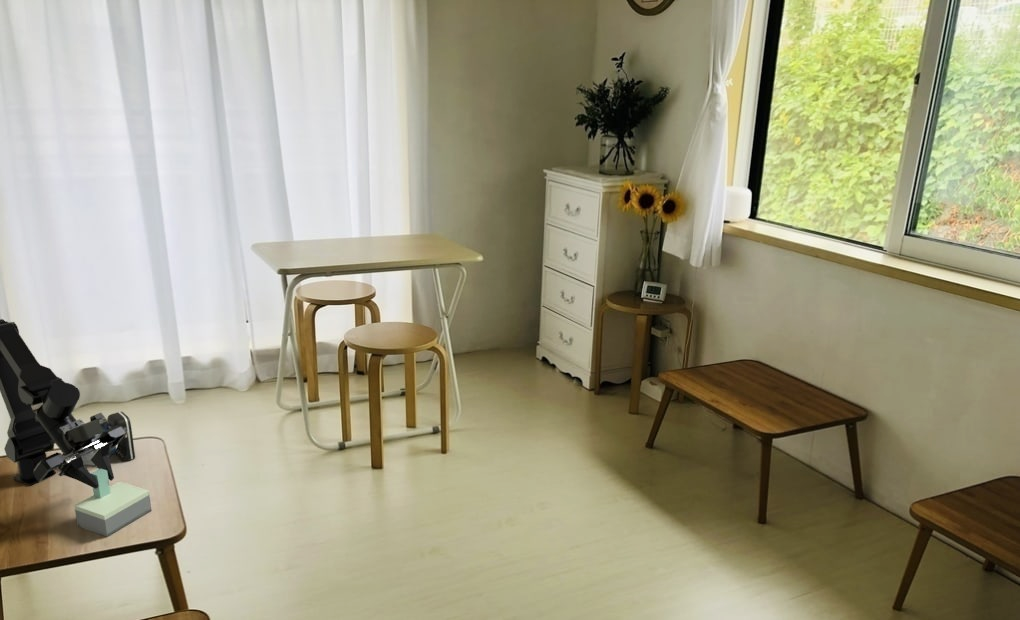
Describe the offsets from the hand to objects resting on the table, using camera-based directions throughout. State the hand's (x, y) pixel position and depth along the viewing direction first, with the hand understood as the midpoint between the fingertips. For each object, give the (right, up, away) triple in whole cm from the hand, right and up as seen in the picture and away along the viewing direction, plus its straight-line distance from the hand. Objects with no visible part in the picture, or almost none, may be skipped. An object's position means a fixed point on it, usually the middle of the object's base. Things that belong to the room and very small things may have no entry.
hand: (105, 483), depth 158 cm
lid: (+1, -4, +1) cm, 4 cm away
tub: (+1, -8, +2) cm, 8 cm away
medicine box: (-16, 0, +27) cm, 32 cm away
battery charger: (-11, 0, +28) cm, 30 cm away
